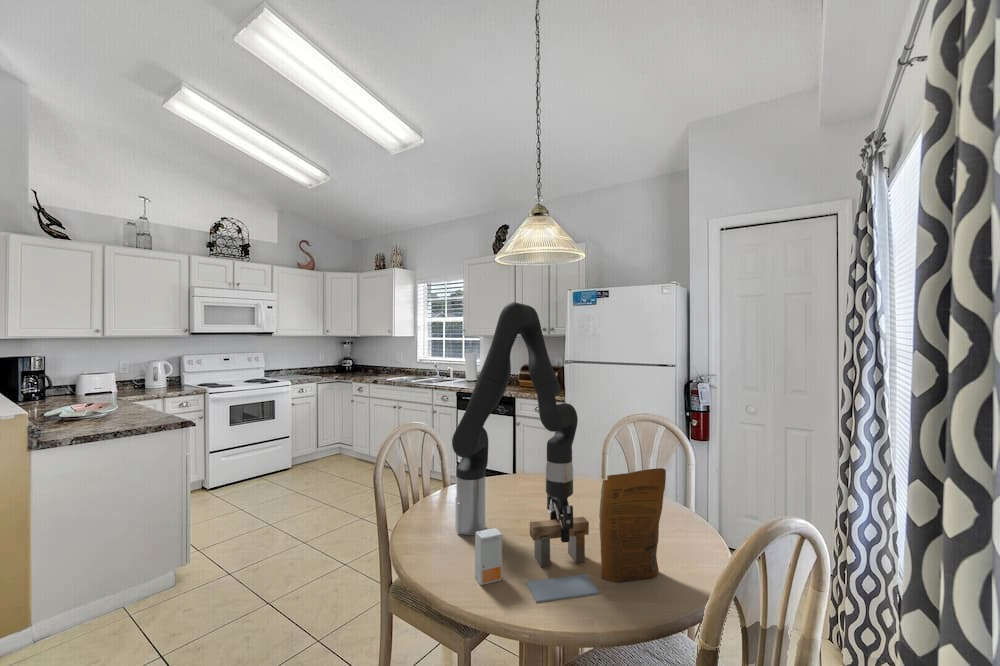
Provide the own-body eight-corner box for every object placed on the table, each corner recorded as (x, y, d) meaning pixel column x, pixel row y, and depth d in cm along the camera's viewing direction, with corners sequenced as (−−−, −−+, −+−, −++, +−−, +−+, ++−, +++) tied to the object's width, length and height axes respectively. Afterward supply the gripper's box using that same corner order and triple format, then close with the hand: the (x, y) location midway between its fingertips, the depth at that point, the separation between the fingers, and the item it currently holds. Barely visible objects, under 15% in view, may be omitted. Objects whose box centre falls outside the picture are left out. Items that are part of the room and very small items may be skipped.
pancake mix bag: (673, 580, 112) (673, 470, 112) (602, 588, 109) (603, 475, 108) (658, 566, 119) (658, 463, 119) (592, 574, 115) (592, 467, 115)
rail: (533, 540, 119) (533, 527, 119) (529, 534, 122) (529, 522, 122) (588, 534, 122) (588, 521, 122) (583, 528, 126) (583, 516, 126)
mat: (536, 602, 103) (536, 600, 103) (526, 583, 111) (526, 581, 111) (599, 593, 107) (599, 591, 107) (586, 575, 114) (586, 574, 114)
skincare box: (480, 586, 110) (480, 538, 109) (474, 577, 113) (474, 531, 113) (502, 580, 112) (502, 533, 112) (496, 572, 116) (496, 527, 116)
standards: (541, 568, 118) (541, 537, 118) (534, 556, 124) (534, 527, 124) (584, 562, 121) (584, 532, 121) (576, 551, 127) (576, 523, 126)
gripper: (538, 469, 128) (538, 525, 128) (555, 486, 114) (555, 548, 114) (562, 467, 130) (563, 522, 130) (582, 484, 116) (582, 545, 116)
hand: (559, 534), depth 122 cm, fingers open, 8 cm apart
